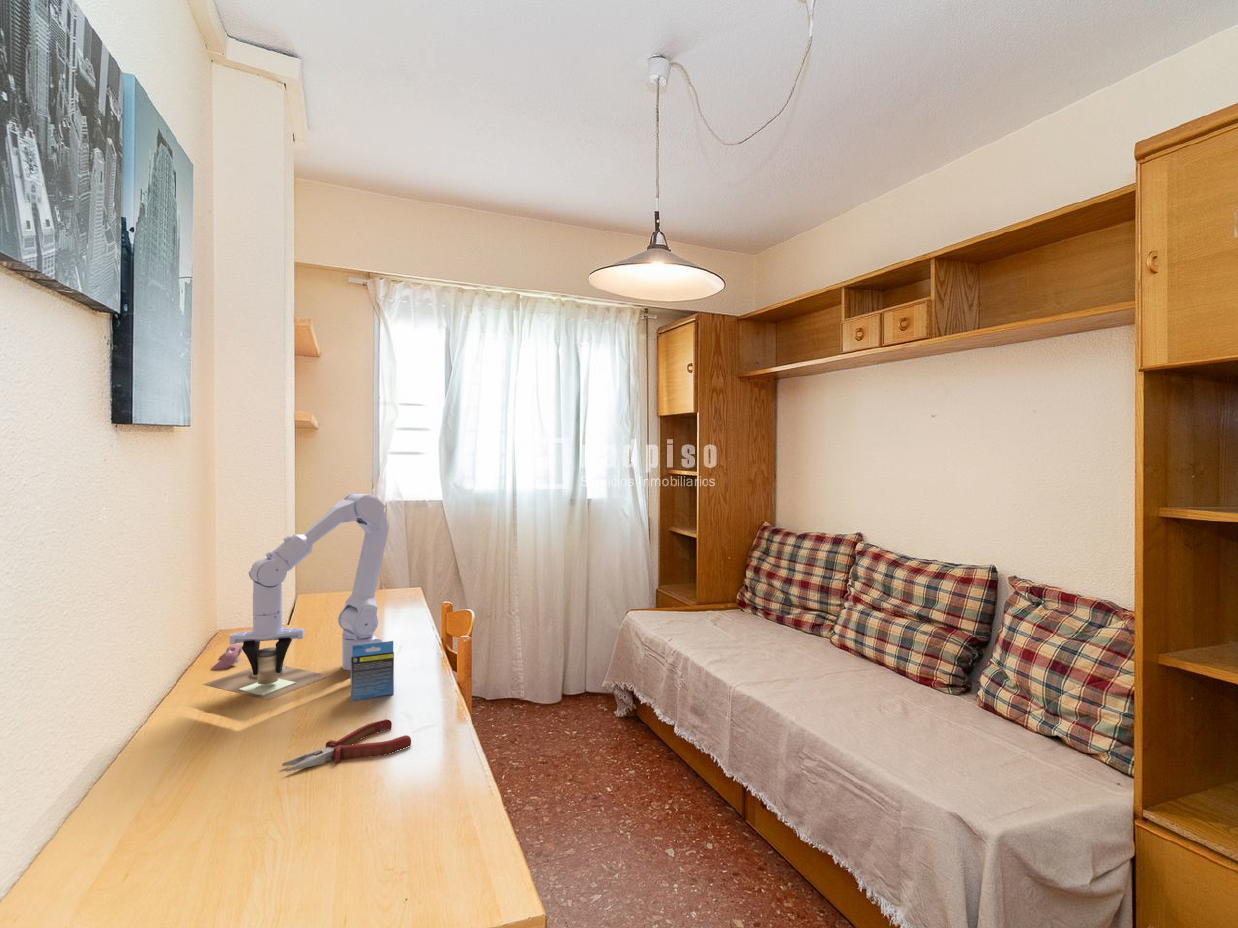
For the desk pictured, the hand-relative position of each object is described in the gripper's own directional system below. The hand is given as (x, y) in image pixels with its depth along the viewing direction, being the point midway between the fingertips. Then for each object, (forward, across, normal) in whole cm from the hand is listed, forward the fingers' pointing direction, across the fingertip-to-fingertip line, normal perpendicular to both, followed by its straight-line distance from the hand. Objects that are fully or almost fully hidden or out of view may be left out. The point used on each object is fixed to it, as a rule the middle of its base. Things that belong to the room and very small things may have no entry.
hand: (267, 672), depth 137 cm
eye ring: (+3, +2, -10) cm, 11 cm away
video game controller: (+5, +14, -21) cm, 25 cm away
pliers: (+6, -21, +33) cm, 40 cm away
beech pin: (+2, 0, 0) cm, 2 cm away
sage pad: (+3, 0, 0) cm, 3 cm away
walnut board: (+5, +1, -5) cm, 7 cm away
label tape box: (+5, -22, +8) cm, 24 cm away
